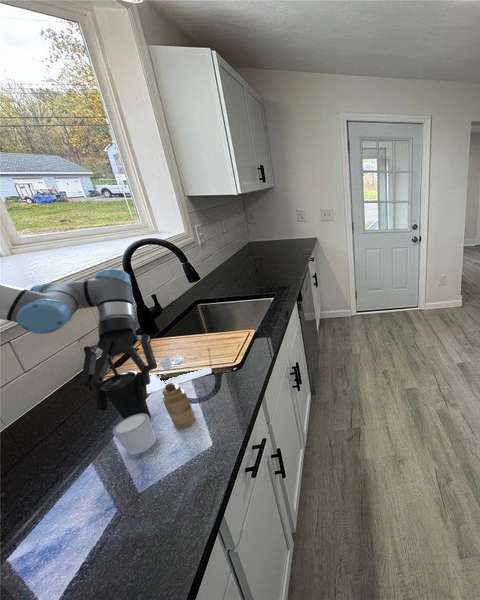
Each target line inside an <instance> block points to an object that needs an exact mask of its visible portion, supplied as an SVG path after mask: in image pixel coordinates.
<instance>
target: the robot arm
mask: <svg viewBox="0 0 480 600" xmlns="http://www.w3.org/2000/svg"><path fill="white" fill-rule="evenodd" d="M133 296H134V295H133V286H132V280H131V276H130V274H129V273H127V271H124V270H123V269H117V268H105V269H103V270H99V271H97V272H96V273H95V277H94V278H93V279H86V280H76V281H62V282H48V283H43V284H35V285H33V286H32V287H30V290H29V289H24V288H22V287H16V286H12V285H9V284H5V283H0V320H1V321H2V320H3V321H8V322H13V323H16V324H18V326H19V327H20V328H22V329H23V330H25V331H27V332H29V333H31V334H39V335H42V334H44V335H45V334H50V333H54V332H56V331H58V330H60V329H62V327H64V326H65V325H66V324H67V323H68V322H69V321H70V320H71V319H72V316H74V314H75V313H77V311H78V310H79V309H88V308H89V309H90V308H96V309H97V322H98V325H97V329H98V339H99V340H98V342H96V343H97V344H94V345H92V346H88V345H86V346H84V347H83V352H84V361H83V367H82V373H81V380H80V383H81V385H84V386H88V387H89V386H91V397H92V398H93V399H96V409H97V410H98V411H103V412H104V411H108V402H107V401H108V400H107V398H108V397H107V395H106V394H105V392H104V391H102V390H101V389H100V385H101V383H102V382H103V381H105V377H106V375H107V372H108V370H109V368H110V365H109V363H108V361H107V359H108V358H110V359H111V361H112V362H113V360H114V359H115V357H116V356H120V355H123V354H128V356H129V357H130V358H131V360H132V361H133V363H134V364H135V365H136V367H137V368H138V369H139V372H137V380H138V390H139V398H142V399H145V400H146V399H148V394H147V389H146V385H148V384H150V375H149V372H150V371H151V370H153V369H156V368H157V361H156V358H155V355H154V351H153V348H152V346H151V340H152V337H151V336H150V335H149V334H147V333H142V335H138V334H137V329H136V328H137V327H136V321H135V319H136V318H135V307H134V298H133ZM137 342H140V344H141V348H142V350H143V353H144V358H145V360H146V363H147V364H146V363H145V361H144V360H143V359H142V357H141V356H140V354H139V353H138V351H137V350H136V349H135V345H136V344H137ZM99 350H102V352H101V354H100V359H99V362H98V363H97V360H98V359H97V358H98V357H97V355H98V354H99ZM96 364H97V365H96Z"/></svg>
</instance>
